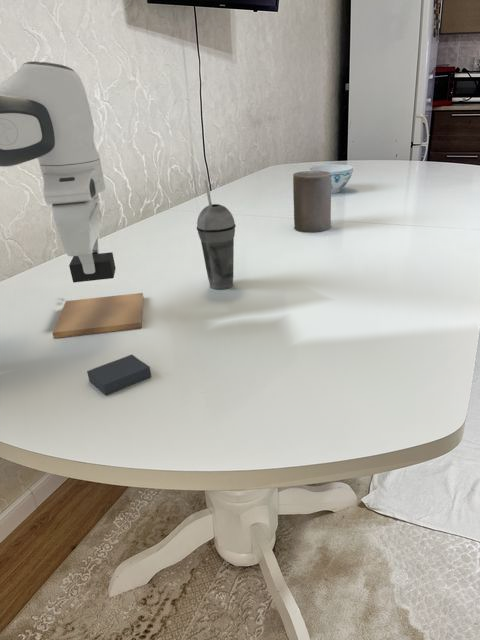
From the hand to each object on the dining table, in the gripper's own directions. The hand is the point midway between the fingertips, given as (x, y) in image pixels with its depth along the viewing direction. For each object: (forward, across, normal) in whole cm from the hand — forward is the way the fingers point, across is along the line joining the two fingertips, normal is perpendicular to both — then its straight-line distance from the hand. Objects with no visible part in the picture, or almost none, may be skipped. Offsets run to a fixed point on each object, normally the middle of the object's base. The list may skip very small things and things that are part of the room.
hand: (92, 266), depth 87 cm
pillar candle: (+10, -45, +50) cm, 68 cm away
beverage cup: (+9, -9, +22) cm, 25 cm away
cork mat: (+9, 0, 0) cm, 9 cm away
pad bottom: (+2, 0, 0) cm, 2 cm away
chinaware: (+10, -89, +68) cm, 112 cm away
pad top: (+9, +26, +5) cm, 28 cm away
